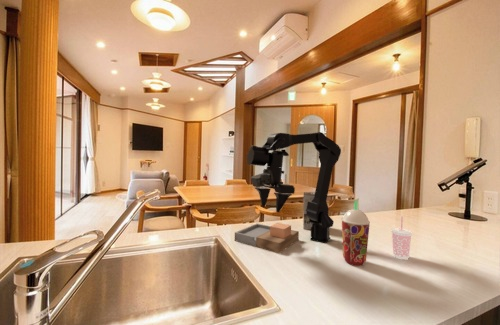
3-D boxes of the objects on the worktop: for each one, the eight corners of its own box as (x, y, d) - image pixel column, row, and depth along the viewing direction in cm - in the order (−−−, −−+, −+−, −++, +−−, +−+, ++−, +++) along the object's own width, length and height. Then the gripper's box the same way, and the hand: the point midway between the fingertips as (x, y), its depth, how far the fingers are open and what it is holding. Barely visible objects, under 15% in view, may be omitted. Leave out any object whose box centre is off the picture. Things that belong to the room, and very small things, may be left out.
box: (276, 234, 104) (276, 227, 104) (255, 246, 91) (255, 237, 91) (256, 230, 110) (256, 223, 110) (234, 240, 97) (234, 232, 97)
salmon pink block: (291, 234, 95) (291, 225, 95) (283, 238, 90) (284, 229, 90) (277, 231, 98) (277, 222, 98) (269, 235, 93) (270, 226, 93)
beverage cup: (387, 255, 84) (388, 215, 83) (394, 251, 88) (396, 213, 87) (407, 262, 79) (408, 219, 78) (414, 257, 83) (415, 216, 82)
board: (298, 239, 98) (298, 231, 98) (279, 252, 85) (279, 243, 85) (276, 234, 104) (276, 226, 104) (256, 246, 91) (256, 237, 91)
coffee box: (317, 230, 111) (318, 195, 111) (303, 229, 113) (303, 194, 112) (316, 224, 120) (316, 192, 120) (302, 223, 122) (303, 191, 121)
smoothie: (366, 270, 73) (368, 204, 72) (338, 263, 77) (339, 201, 77) (370, 260, 80) (371, 200, 79) (343, 254, 84) (344, 197, 84)
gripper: (243, 164, 93) (239, 204, 93) (271, 167, 77) (266, 215, 77) (266, 166, 99) (263, 204, 99) (297, 169, 83) (293, 215, 83)
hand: (270, 209), depth 89 cm, fingers open, 9 cm apart
